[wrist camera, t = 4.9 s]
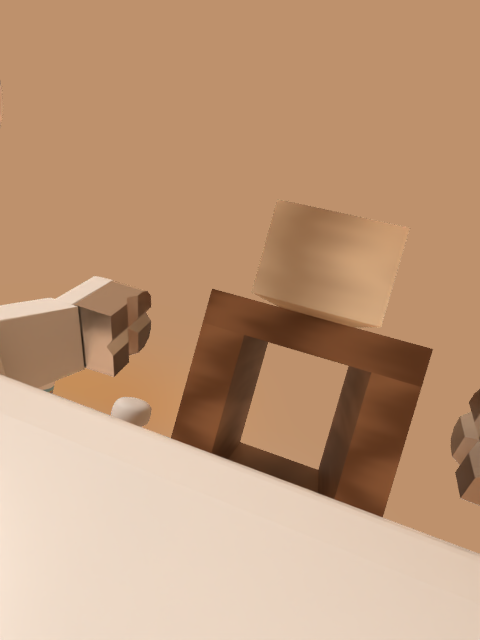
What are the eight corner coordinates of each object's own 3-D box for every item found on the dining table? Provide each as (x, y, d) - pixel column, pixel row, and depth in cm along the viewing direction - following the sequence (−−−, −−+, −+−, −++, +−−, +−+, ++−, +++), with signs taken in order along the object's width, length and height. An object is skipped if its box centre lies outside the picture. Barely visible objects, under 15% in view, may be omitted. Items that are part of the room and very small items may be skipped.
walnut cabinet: (90, 728, 22) (212, 288, 22) (169, 590, 34) (249, 302, 33) (286, 838, 20) (432, 349, 19) (298, 649, 32) (389, 341, 31)
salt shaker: (129, 496, 47) (156, 396, 47) (133, 526, 42) (164, 413, 41) (79, 493, 45) (107, 388, 44) (77, 524, 40) (109, 405, 39)
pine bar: (251, 292, 12) (277, 199, 12) (296, 315, 35) (304, 284, 35) (380, 327, 11) (409, 227, 11) (338, 327, 35) (347, 295, 34)
